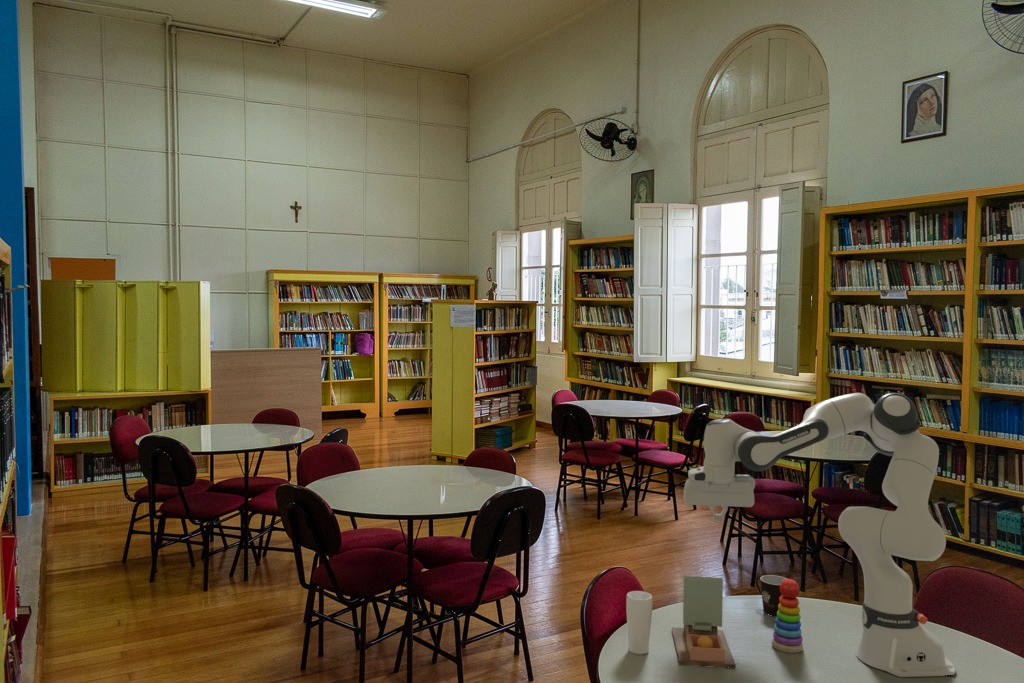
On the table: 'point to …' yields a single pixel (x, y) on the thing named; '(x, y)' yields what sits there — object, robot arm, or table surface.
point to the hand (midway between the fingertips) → (718, 520)
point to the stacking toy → (788, 619)
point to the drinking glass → (638, 621)
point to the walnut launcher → (681, 634)
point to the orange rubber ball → (704, 642)
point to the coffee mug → (770, 592)
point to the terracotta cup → (705, 650)
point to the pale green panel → (702, 602)
